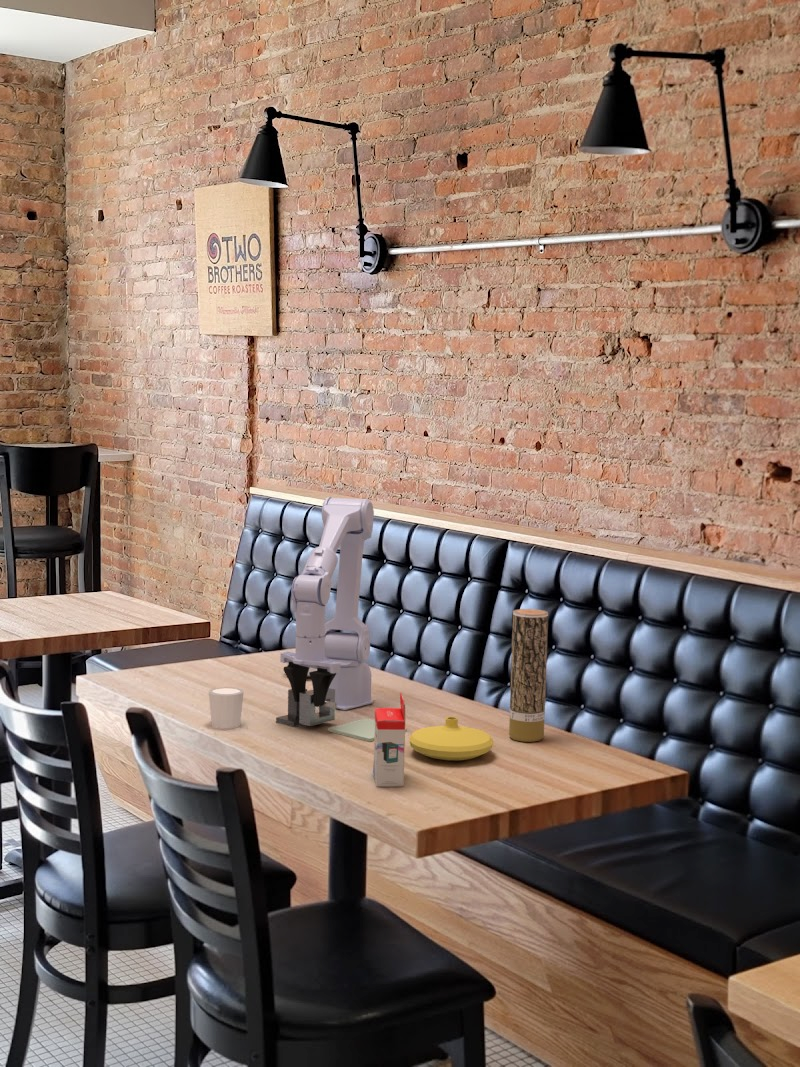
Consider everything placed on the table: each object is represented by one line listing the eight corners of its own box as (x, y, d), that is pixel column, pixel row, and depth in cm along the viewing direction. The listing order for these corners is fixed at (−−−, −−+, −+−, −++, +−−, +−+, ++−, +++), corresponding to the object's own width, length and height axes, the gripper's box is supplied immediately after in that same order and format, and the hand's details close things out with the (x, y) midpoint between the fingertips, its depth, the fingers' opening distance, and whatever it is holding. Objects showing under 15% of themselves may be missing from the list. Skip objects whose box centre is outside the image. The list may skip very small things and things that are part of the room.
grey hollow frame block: (323, 717, 270) (324, 687, 269) (334, 719, 268) (335, 689, 267) (299, 723, 265) (299, 692, 264) (310, 726, 263) (310, 695, 262)
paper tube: (547, 736, 263) (551, 610, 260) (539, 744, 257) (543, 616, 254) (513, 732, 265) (517, 607, 262) (505, 740, 259) (509, 613, 256)
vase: (479, 771, 238) (480, 733, 238) (396, 761, 244) (396, 723, 243) (503, 749, 253) (504, 713, 252) (424, 740, 258) (425, 704, 258)
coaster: (365, 721, 271) (365, 718, 271) (406, 731, 264) (407, 728, 264) (328, 731, 263) (328, 728, 263) (369, 741, 256) (370, 738, 256)
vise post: (300, 716, 274) (301, 684, 273) (346, 727, 266) (346, 695, 265) (276, 722, 269) (276, 690, 268) (321, 734, 261) (322, 701, 260)
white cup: (237, 730, 262) (237, 695, 261) (203, 728, 263) (203, 693, 262) (247, 722, 269) (248, 688, 268) (215, 719, 270) (215, 685, 269)
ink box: (372, 772, 236) (374, 691, 234) (400, 772, 236) (402, 691, 235) (375, 787, 228) (377, 703, 226) (404, 787, 228) (406, 703, 226)
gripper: (269, 633, 264) (268, 700, 266) (322, 643, 255) (321, 713, 256) (295, 628, 269) (294, 694, 271) (348, 638, 260) (346, 707, 262)
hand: (309, 703), depth 264 cm, fingers open, 5 cm apart
